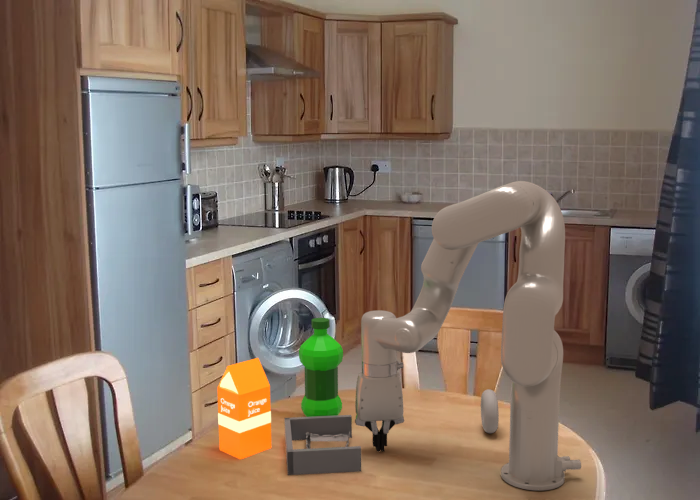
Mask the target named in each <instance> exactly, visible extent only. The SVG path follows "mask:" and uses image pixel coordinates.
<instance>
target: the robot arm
mask: <svg viewBox="0 0 700 500" xmlns="http://www.w3.org/2000/svg"><path fill="white" fill-rule="evenodd" d="M519 228H520V231H521V232H520V233H521V240H520V244H519V245H520V246H519V253H518V254H519V261H518V275H517V280H516V282H515V283H514V284H513V285H512V286H511V287H510V289H509V290H508V292H507V293H506V296H505V299H504V303H503V311H502V328H501V346H500V362H501V366H502V370H503V372H504V373H505V375H506V377H507V378H508V379H509V380H510V381H511V385H510V402H509V404H510V407H509V409H510V412H509V444H508V445H509V449H508V450H509V453H508V462H507V463H505V464H503V465H502V466H501V469H500V476H501V478H502V480H504V482H505V483H507V484H509V485H511V486H512V487H514V488H515V487H516V488H519V489H523V490H527V491H537V492H538V491H550V490H554V489H557V488H559V487H561V486H562V485H563V484H564V483H565V477H566V475H565V472H566V471H567V470H573V471H574V470H581V469H582V462H581V460H580V459H571V456H570V455H569V456H568V455H567V456H559V454H558V449H559V447H558V446H559V427H560V426H559V425H560V424H559V420H560V418H559V417H560V403H561V402H560V401H561V399H560V398H561V397H560V396H561V380H562V372H563V361H564V346H563V345H564V344H563V341H562V339H561V337H560V335H559V334H558V332H557V331H556V330H555V322H556V321H555V319H556V315H558V313H559V311H560V310H561V308H562V306H563V302H564V275H565V249H566V227H565V219H564V215H563V212H562V209H561V206H560V205H559V203H558V202H557V200H556V199H555V198H554V196H553V195H552V194H551V193H550V192H548V191H547V190H546V189H544V188H543V187H542V186H540V185H538V184H535V183H533V182H530V181H524V180H518V181H517V180H516V181H513V182H509V183H507V184H503V185H501V186H497V187H495V188H493V189H490V190H488V191H486V192H483V193H481V194H478V195H475V196H473V197H471V198H470V197H469V198H468V199H466V200H462V201H460V202H457V203H453V204H450V205H447V206H445V207H443V208H442V209H440V210H439V211H438V212H437V213H436V215H435V216H434V218H433V220H432V223H431V234H432V237H433V239H432V241H431V244H430V245H429V247H428V250H427V252H426V254H425V256H424V258H423V261H422V262H421V266H420V271H421V273H422V275H423V283H422V287H421V289H420V293H419V295H418V296H417V299H416V301H415V302H414V305H413V307H412V309H411V311H410V312H408V313H406V314H405V315H403V316H399V317H397V316H396V315H395V314H394V313H393V312H391V311H388V310H383V309H381V310H379V309H378V310H370V311H366V312H365V313H363V315H362V317H361V321H360V324H361V325H360V327H361V328H360V329H361V333H360V334H361V371H360V372H359V373H358V374H357V378H356V379H357V380H356V387H355V404H354V405H355V406H354V407H355V414H356V415H355V419H354V423H355V425H356V426H358V427H359V426H360V427H366V428H367V429H368V430H369V431H370V432H371V433H372V447H373V448H374V447H375V449H376V452H377V453H380V452H381V453H382V452H385V447H387V446H388V435H389V432H390V430H392V429H393V427H394V426H396V425H400V424H403V423H404V422H405V417H404V398H403V397H404V395H403V394H404V393H403V386H402V380H401V376H400V372H399V370H400V369H404V362H403V361H398V360H397V359H398V358H397V354H398V353H397V352H399V353H404V354H413V353H416V352H418V351H419V350H421V349H422V348H424V347H425V346H426V345H427V344H428V343H430V342H431V341H432V340H433V339H435V338H436V337H437V335H438V333H439V332H440V331H441V329H442V326H443V324H444V322H445V321H446V319H447V316H448V314H449V312H450V310H451V307H452V305H453V302H454V300H455V298H456V294H457V292H458V289H459V285H460V282H461V280H462V277H463V276H464V273H465V271H466V269H467V267H468V265H469V263H470V261H471V259H472V257H473V255H474V253H475V251H476V249H477V247H478V245H479V243H481V242H486V241H487V240H491V239H493V238H496V237H499V236H502V235H504V234H507V233H510V232H513V231H515V230H518V229H519ZM377 422H381V427H380V429H379V428H378V424H377Z"/></svg>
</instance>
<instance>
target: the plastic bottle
mask: <svg viewBox="0 0 700 500" xmlns="http://www.w3.org/2000/svg"><path fill="white" fill-rule="evenodd" d="M330 322H331V321H330V319H329V318H328V317H314V318H312V319H311V328H312V329H313V334H311V336H309V337H308V338H307V339H306V340H305V341H304V342H302V344H301V345H300V347H299V349H298V357H299V362H300V364H302V366H303V367H304V396H303V397H302V400H301V403H300V407H301V411H302V413H303V414H304V417H314V416H336V415H340V413H341V412H342V409H343V401H342V399H341V397H340V396H339V369H338V368H339V367H338V366H340V364H341V363H342V362H343V358H344V349H343V347H342V345H341V344H340V343H339V342H338V341H337V340H336V339H335V338H333V336H331V335H330V334H329V333H328V329H330V324H331V323H330Z"/></svg>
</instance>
